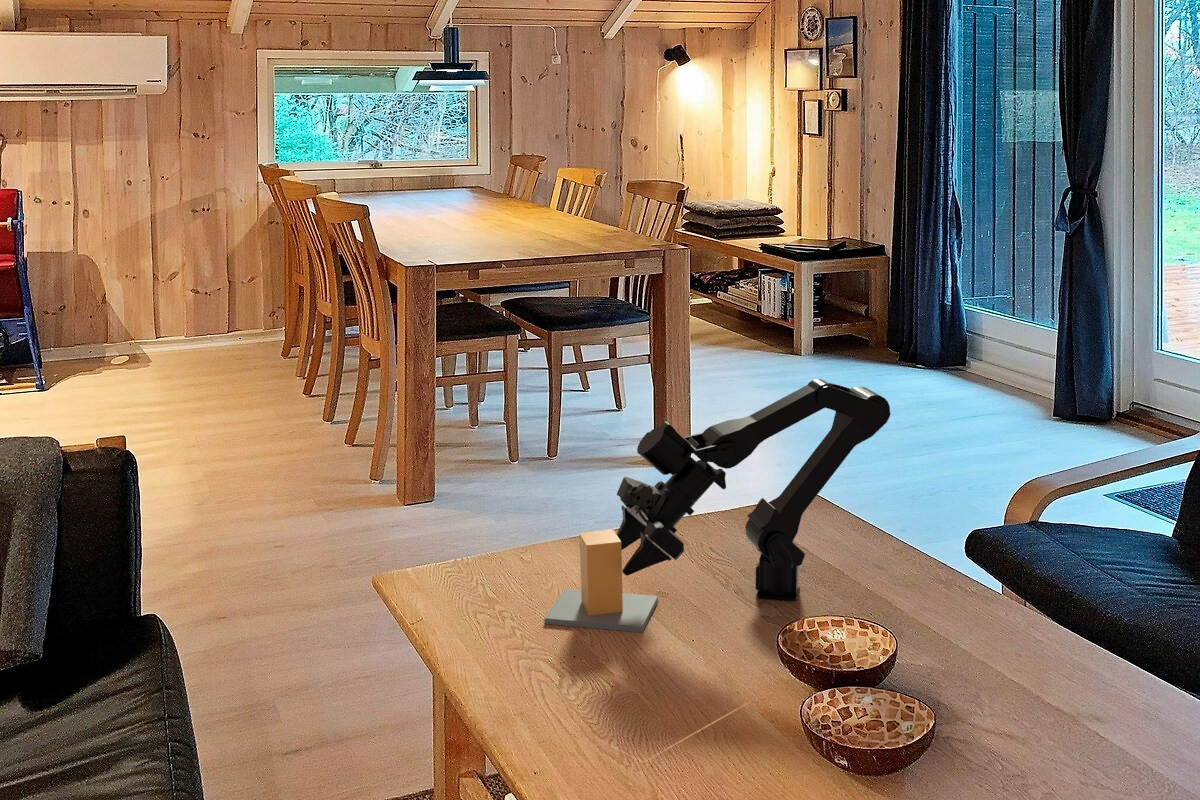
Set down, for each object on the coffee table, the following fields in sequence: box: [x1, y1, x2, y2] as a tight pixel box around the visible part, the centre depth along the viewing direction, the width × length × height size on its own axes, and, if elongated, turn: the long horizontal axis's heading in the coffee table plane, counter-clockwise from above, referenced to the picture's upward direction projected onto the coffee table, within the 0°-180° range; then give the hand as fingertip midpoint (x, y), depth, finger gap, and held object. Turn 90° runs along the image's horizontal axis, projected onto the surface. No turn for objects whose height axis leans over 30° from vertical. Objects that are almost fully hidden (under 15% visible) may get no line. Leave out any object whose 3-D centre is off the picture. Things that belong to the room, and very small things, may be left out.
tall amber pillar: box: [579, 529, 623, 615], centre depth 208 cm, size 6×6×12 cm
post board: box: [543, 588, 659, 633], centre depth 210 cm, size 16×12×4 cm
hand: (617, 563), depth 209 cm, fingers open, 9 cm apart
